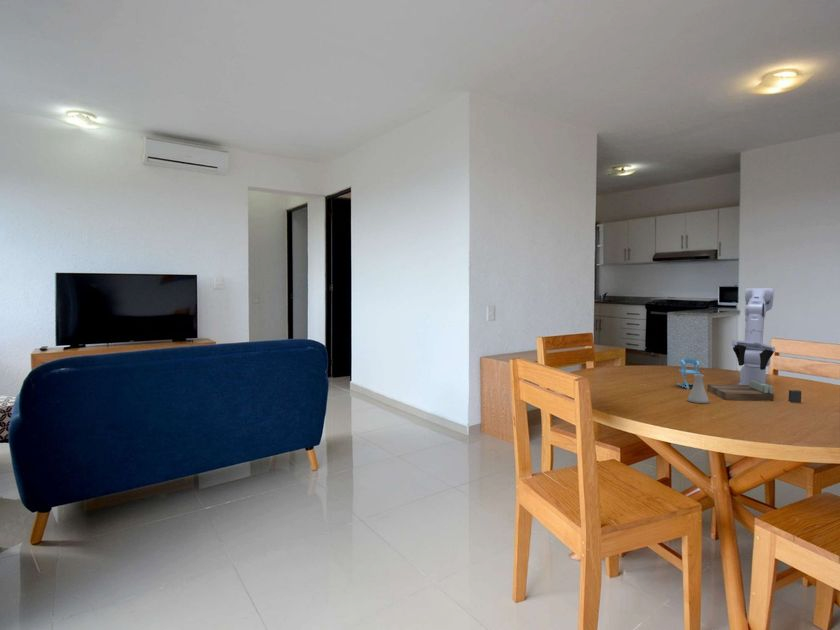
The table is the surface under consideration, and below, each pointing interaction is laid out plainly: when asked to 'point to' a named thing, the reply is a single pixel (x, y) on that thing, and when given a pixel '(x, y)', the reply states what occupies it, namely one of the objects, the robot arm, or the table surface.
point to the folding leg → (761, 386)
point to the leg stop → (794, 396)
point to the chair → (684, 371)
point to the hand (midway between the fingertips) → (751, 367)
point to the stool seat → (739, 392)
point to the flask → (698, 391)
